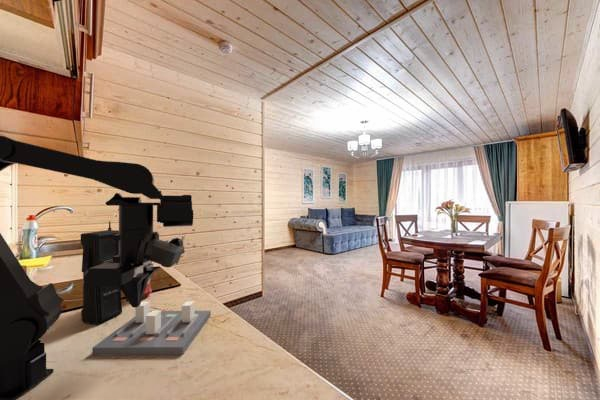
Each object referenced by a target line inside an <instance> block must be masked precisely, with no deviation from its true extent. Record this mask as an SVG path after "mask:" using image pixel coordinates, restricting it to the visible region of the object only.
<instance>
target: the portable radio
mask: <svg viewBox="0 0 600 400" xmlns="http://www.w3.org/2000/svg"><path fill="white" fill-rule="evenodd" d="M111 222H112V221H111V220H110V221H108V228H107V229H106V230H99V231H91V232H84V233H81V234H80V245H82V262H81V273H82V275H83V274H84V273H85V272H86V271H87V270H88V269H89V268H92V267H95V266H97V265H100V264H103V263H120V262H113V257H114V256H117V255H119V240H113V235H116V234H119V229H117V230H113V229H112V227H111ZM82 290H83V291H82V309H81V310H80V311H81V315H80V316H81V319H80V320H81V322H83V324H91V325H100V324H102V323H104V322H106V321H108V320H110V319H112V318H115V317H116V316H119V315H121V314H122V313H123V304H122V302H123V301H122V291H121V289H120V288H119V287H118V286H83V285H82Z"/></svg>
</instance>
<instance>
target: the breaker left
mask: <svg viewBox="0 0 600 400" xmlns="http://www.w3.org/2000/svg"><path fill="white" fill-rule="evenodd" d="M134 308H135V309H134V310H135V312H134V314H135V316H134V317H135V323H144V322H145V321H146V315H147V314H149V313H150V311H151V302H150V301H141V304H140V305H139V306H138V307H134Z"/></svg>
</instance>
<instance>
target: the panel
mask: <svg viewBox="0 0 600 400" xmlns="http://www.w3.org/2000/svg"><path fill="white" fill-rule="evenodd" d="M151 311H152V310H150V312H151ZM160 311H161V329H160V330H159V331H158V332H157V333H156V334H146V321H145V322H144V323H135V316H134V317H132V318H131V319H129V320H128V321H126V322H125V323H124V324H123V325H121V326H120V327H118V328H117V329H116V330H114V331H113V332H111V333H110V334H109V335H107V336H106V337H105V338H104V339H102V340H101V341H99V342H98V343H97V344H95V345H93V346H92V348H91V350H92V353H91V354H92V356H113V355H114V356H134V355H135V356H140V355H141V356H143V355H144V356H145V355H146V356H149V355H150V356H152V355H153V356H154V355H155V356H156V355H160V356H161V355H164V356H165V355H170V356H171V355H175V356H176V355H184V353H186V351H187V350H188V348H189V346H191V344H192V343H193V341H194V340H195V339H196V337H197V336H198V334H199V333H200V332H201V330H202V329H203V328H204V326H205V325H206V323H207V322H208V320H209V319H210V318H211V316H212V315H211V313H212V312H211V310H194V319H193V320H192V321H191V322H182V310H160Z"/></svg>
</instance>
